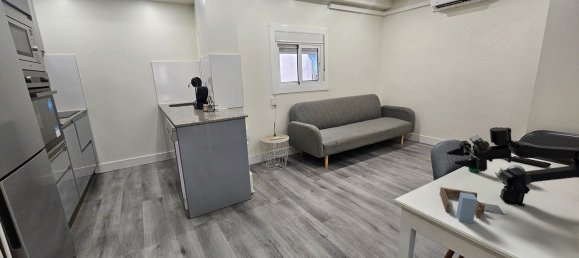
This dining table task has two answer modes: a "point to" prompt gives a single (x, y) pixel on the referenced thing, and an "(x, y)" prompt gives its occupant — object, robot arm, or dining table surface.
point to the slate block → (466, 207)
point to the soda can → (473, 170)
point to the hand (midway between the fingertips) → (450, 157)
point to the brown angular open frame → (456, 193)
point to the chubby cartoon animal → (509, 168)
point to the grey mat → (492, 208)
